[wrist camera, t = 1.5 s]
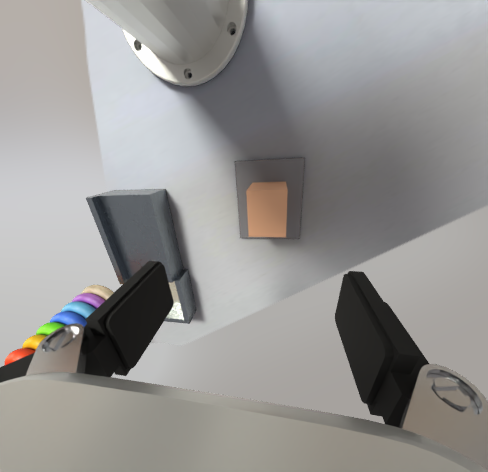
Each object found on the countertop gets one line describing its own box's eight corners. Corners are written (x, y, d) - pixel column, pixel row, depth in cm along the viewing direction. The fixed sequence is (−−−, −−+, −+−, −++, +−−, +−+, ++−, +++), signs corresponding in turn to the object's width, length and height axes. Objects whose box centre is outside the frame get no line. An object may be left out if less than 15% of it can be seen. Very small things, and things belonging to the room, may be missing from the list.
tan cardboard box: (252, 182, 23) (246, 190, 19) (285, 181, 23) (287, 189, 18) (253, 221, 26) (248, 236, 21) (284, 221, 25) (286, 237, 20)
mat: (235, 161, 23) (234, 161, 23) (304, 157, 22) (304, 157, 21) (240, 236, 27) (240, 237, 27) (299, 237, 26) (299, 238, 26)
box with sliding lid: (109, 190, 28) (80, 197, 24) (170, 188, 26) (150, 196, 22) (148, 306, 36) (132, 325, 32) (196, 310, 35) (185, 331, 31)
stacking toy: (126, 293, 36) (-7, 420, 19) (122, 319, 40) (7, 446, 23) (87, 276, 36) (-82, 390, 19) (86, 304, 39) (-56, 421, 23)
